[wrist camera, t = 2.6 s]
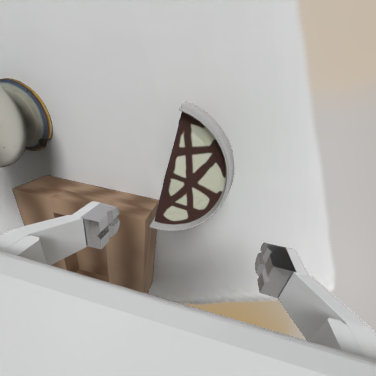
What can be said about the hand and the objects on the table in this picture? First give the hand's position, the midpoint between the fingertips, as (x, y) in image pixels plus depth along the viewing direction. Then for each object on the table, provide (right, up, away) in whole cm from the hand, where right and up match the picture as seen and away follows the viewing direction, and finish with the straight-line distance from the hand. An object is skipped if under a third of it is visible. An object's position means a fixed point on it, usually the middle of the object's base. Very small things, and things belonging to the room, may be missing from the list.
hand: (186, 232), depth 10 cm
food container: (+3, +7, +14) cm, 16 cm away
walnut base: (-16, -6, +23) cm, 29 cm away
